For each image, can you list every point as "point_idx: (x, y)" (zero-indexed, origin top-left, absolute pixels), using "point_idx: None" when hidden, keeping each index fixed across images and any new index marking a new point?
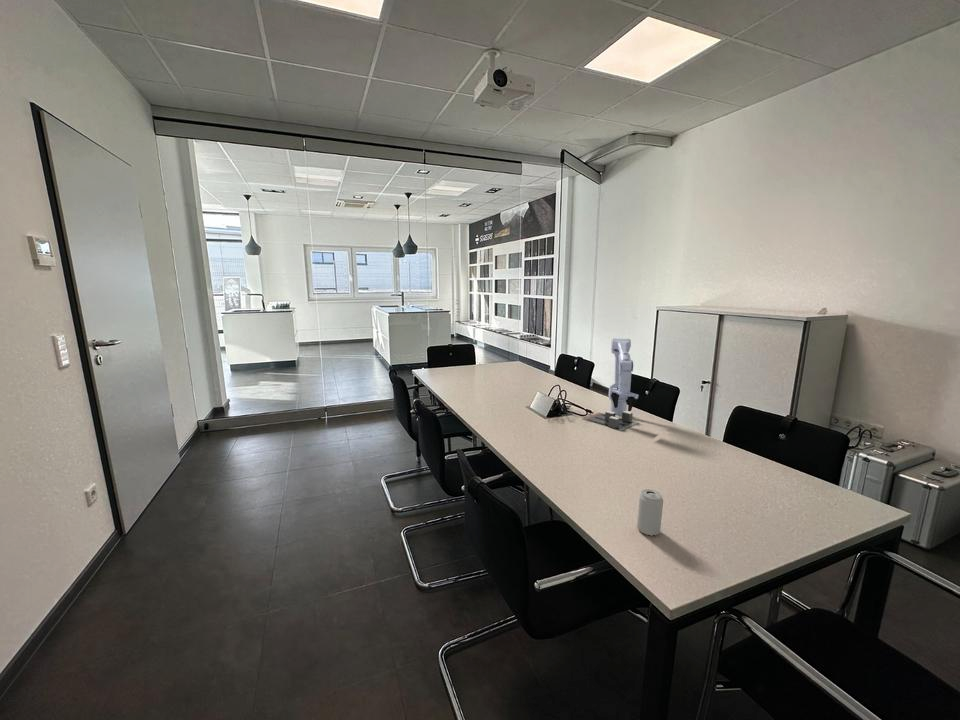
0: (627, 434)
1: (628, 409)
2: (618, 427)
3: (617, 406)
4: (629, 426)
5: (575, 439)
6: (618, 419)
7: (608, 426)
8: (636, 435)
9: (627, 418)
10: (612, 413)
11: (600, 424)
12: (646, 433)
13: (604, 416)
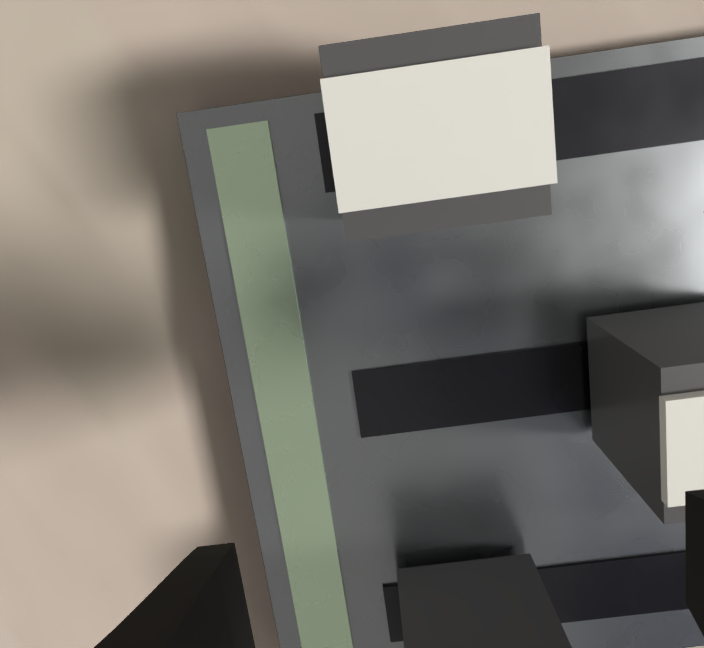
0: (132, 166)
1: (201, 568)
2: None
3: (700, 622)
4: (267, 416)
5: None
6: (338, 187)
7: None
8: (27, 255)
9: (433, 607)
10: (675, 398)
11: (673, 45)
12: (17, 463)
13: None
